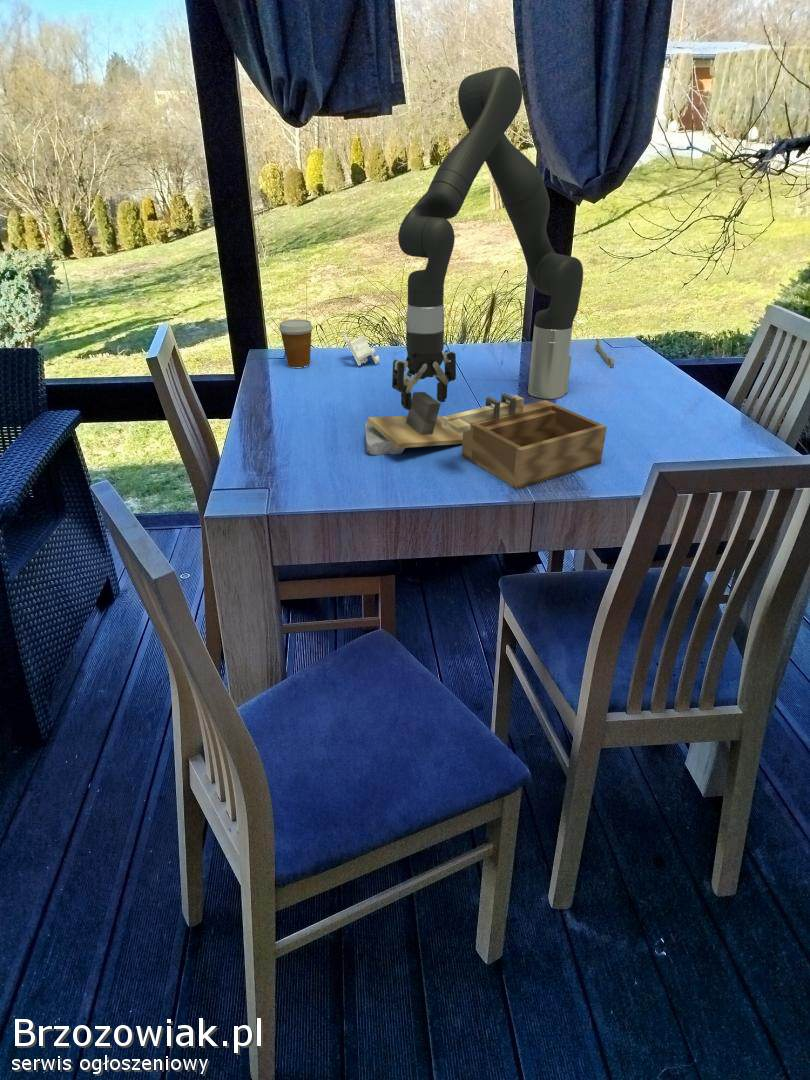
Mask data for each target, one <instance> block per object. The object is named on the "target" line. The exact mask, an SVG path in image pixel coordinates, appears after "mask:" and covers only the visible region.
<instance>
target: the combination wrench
mask: <svg viewBox="0 0 810 1080" xmlns="http://www.w3.org/2000/svg"><path fill="white" fill-rule="evenodd" d="M595 340H596V344H595V345H594V351H595V350H596V351H595V352H599V354H600V355H601V356H602V358H603V359H604V361H605V362H606V364H607V367H608V366H610V367H613V368H614V366H615V359H614V357H610V356H609V355H608V354H607V353H606V351H605V350H604V348H603V347H602V346H601V340H600V338H596V339H595Z"/></svg>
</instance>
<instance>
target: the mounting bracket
mask: <svg viewBox="0 0 810 1080" xmlns="http://www.w3.org/2000/svg"><path fill="white" fill-rule="evenodd" d="M342 335H343V337H344V339H345V342H346V343H347V346H348V348H349V350H350V351H351V354H352V355H353V358H354V360H355V361H356V363H357V366H358V367H359V365H361V363H364V364H366V363H367V362H368V361H369V360H368V357H369V356H370V357H371V358H372V360H373V361H374V364H375V365H376V364H377V363H378V362H381V361H382V360H381V359H380V356H379V355H376V356H375V354H376V352H377V351H376V349H375V347H370V345H369V343H368V341H367V338H366V337H365V335H364V334H362V335H360V336H359V337H356V338H355V339H352V340H351V341H350V339H349V337H348V336H349V335H347V332H346V331H345V332H343V333H342ZM377 365H378V364H377Z"/></svg>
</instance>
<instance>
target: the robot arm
mask: <svg viewBox="0 0 810 1080" xmlns="http://www.w3.org/2000/svg"><path fill="white" fill-rule="evenodd" d="M521 81H522V80H521V79H520V76H519V75H518V73H517V71H516V70H515V69H513V68H512V67H509V66H499V67H494V68H491V69H487V70H484V71H483V70H482V71H479V72H475V73H471V74H470V75H468V76H466V77H465V78H463V80H461V82H460V84H459V87H458V91H457V92H458V95H457V96H458V97H457V98H458V99H457V100H458V106H459V111H460V113H461V116H462V119H463V122H464V123H465V126H466V128H467V130H468V132H467V133H466V134H465V135H464V137H462V138H461V139H460V141H459V142H458V143H456V145H455V146H454V147H453V148H452V149H451V150H450V151H449V152H448V154H447V155H446V156H445V157H444V158H443V159H442V161H441V162H440V164H439V166H438V168H437V170H436V172H435V174H434V176H433V179H432V180H431V182H430V184H429V186H428V189H427V191H426V192H425V194H423V195H422V196H421V198H419V200H418V201H417V202H416V203H415V204H414V206H412V208H411V209H410V210H409V211H408V213H407V214H406V215H405V217H404V218H403V220H402V221H401V224H400V227H399V230H398V236H397V240H398V241H397V242H398V245H399V248H400V250H401V251H402V253H403V254H405V255H407V256H409V257H414V258H425V259H427V263H426V266H425V268H424V269H418V270H415V271H412V272H410V274H408V277H407V307H406V315H405V316H406V317H405V318H406V324H405V325H406V326H405V327H406V330H405V331H406V332H405V333H406V341H405V342H406V345H405V347H406V352H407V356H406V358H405V360H404V359H402V360H398V359H394V360H393V361H392V381H391V382H392V383H391V388H392V389H393V390H396V391H398V392H399V393H400V400H401V401H400V404H401V407H403V409H405V410H406V411H409V410H411V400H412V392H411V391H412V390H413V388H414V387H415V385H416V384H417V383H418V382H419V380H424V379H427V378H435V380H437V383H436V401H438V402H439V403H444V402H446V399H447V397H448V385H449V383H450V382H453V381H455V380H456V378H457V366H456V365H457V362H456V361H457V360H456V359H457V358H456V353H455V352H454V351H451V350H449V349H446V350H445V351H444V345H445V342H444V341H445V339H444V338H445V308H444V296H445V295H444V293H445V292H444V291H445V290H444V289H445V280H446V276H447V273H448V267H449V264H450V260H451V258H452V257H451V256H452V255H453V250H454V247H455V239H456V238H455V231H454V227H453V225H452V223H451V222H450V221H449V220H450V219H453V218H455V217H457V215H458V214H459V213H460V211H461V209H462V207H463V205H464V203H465V201H466V198H467V196H468V194H469V191H470V189H471V187H472V185H473V183H474V182H475V180H476V178H477V176H478V174H479V172H480V170H481V169H482V167H483V165H484V164H485V163H486V166H487V168H488V170H489V173H490V175H491V176H492V179H493V181H494V184H495V185H496V189H497V191H498V193H499V196H500V199H501V202H502V203H503V206H504V208H505V211H506V213H507V215H508V219H509V220H510V222H511V224H512V227H513V229H514V232H515V235H516V237H517V240H518V242H519V245H520V247H521V250H522V253H523V257H524V260H525V263H526V266H527V270H528V274H529V278H530V280H531V282H532V285H533V287H534V288H535V290H536V291H537V292H539V293H541V294H543V295H546V296H547V295H548V296H551V298H550V302H549V307H548V308H544V309H540V310H538V311H537V312H535V313H536V314H535V316H534V323H533V335H532V343H531V344H532V345H531V355H530V366H529V367H530V368H529V376H528V389H527V393H528V395H530V396H531V397H533V398H534V397H535V398H538V399H544V400H553V399H554V400H555V399H559V398H562V397H563V396H564V395H565V394H567V393H568V390H569V389H568V387H569V382H570V381H569V380H570V374H571V372H570V371H571V365H572V356H571V355H570V351H571V342H572V341H571V340H572V333H573V325H574V321H575V318H576V315H577V313H578V310H579V304H580V300H581V299H580V298H581V293H582V287H583V282H584V268H583V263H582V261H581V260H580V259H579V258H578V257H575V256H571V255H566V254H559V253H557V252H555V250H554V249H553V246H552V244H551V242H550V239H549V236H548V232H547V226H548V225H547V224H548V220H549V215H550V209H551V203H550V201H551V200H550V197H549V193H548V191H547V187H546V185H545V182H544V179H543V177H542V175H541V172H540V170H539V169H538V167H537V166H536V165H535V164H534V163H533V162H532V161H531V160H530V158H528V157H527V156H526V155H525V154H524V153H523V152H521V151H520V150H519V149H518V148H517V147H516V145H514V144H513V143H512V142H511V141H510V140H509V138H508V137H507V136H506V134H505V133H506V132H507V130H508V128H509V127H510V126H511V124H512V123H513V121H514V119H515V118H516V116H517V115H518V113H519V111H520V108H521V105H522V99H523V87H522V82H521ZM443 351H444V352H443ZM442 363H444V370H443V369H442V367H441V365H442ZM406 368H407V369H406ZM412 375H413V376H412Z"/></svg>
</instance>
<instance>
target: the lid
mask: <svg viewBox="0 0 810 1080" xmlns="http://www.w3.org/2000/svg"><path fill="white" fill-rule="evenodd" d="M440 407H441V402H440V401H438V400H437V399H435V398H434V397H433V396H431V395H430V394H428V393H427V392H425V391H413V392H412V395H411V410H408V413H407V415H396V416H395V415H394V416H392V415H391V416H368V417H367V421H366V422H368V423H370V424H371V425H372V426H373V427H374V428H375V429H376V430H378V431H379V432H380V433H381V434H382V435H383V436H384V437H386V438H387V439H388V440H389V441H390V442H391V443H392V444H393V445H395V446H396V447H397V448H405V449H406V448H407V449H408V448H420V447H421V448H423V447H434V446H449V445H462V440H463V433H460V434H457V433H455V432H454V431H452V430H450V429H445V428H443V427H441V425H442V416H440V415H439V412H440Z"/></svg>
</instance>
